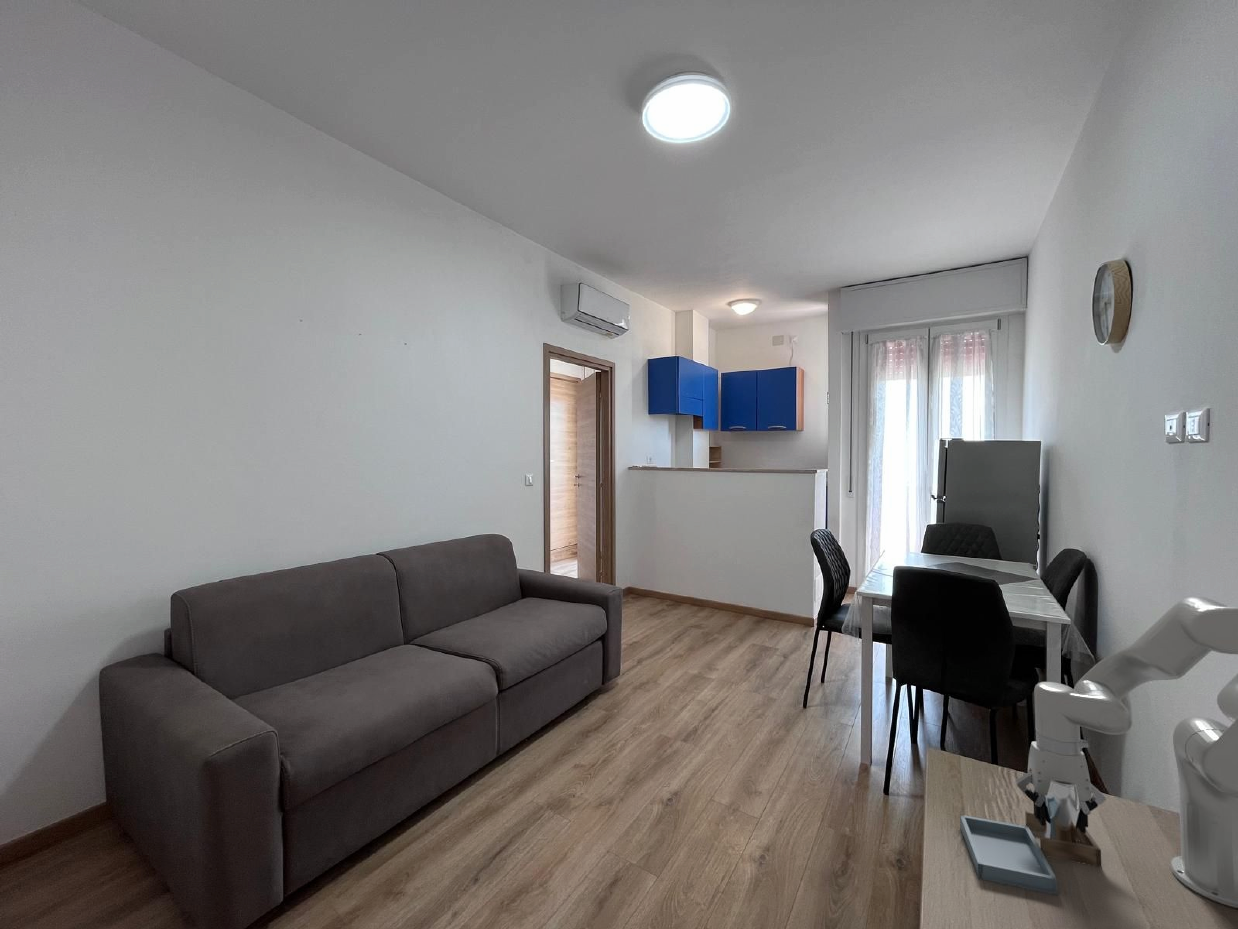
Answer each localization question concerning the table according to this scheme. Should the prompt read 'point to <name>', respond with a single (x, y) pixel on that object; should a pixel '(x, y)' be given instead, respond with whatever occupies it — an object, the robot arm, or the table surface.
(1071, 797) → the silver metal cup
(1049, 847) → the walnut bay
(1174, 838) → the table surface
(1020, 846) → the slate tray
